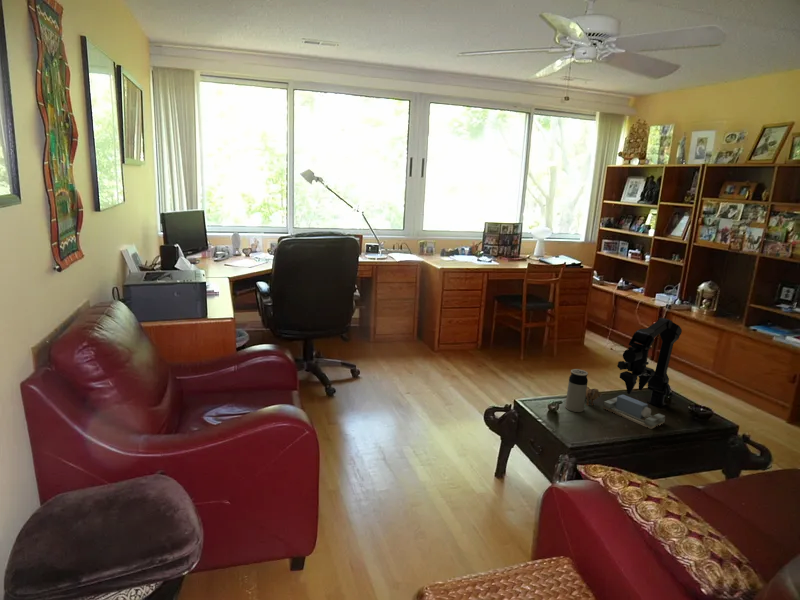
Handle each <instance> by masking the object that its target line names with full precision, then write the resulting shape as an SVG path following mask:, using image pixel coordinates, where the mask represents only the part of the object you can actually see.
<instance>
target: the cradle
mask: <svg viewBox="0 0 800 600" xmlns="http://www.w3.org/2000/svg"><path fill="white" fill-rule="evenodd" d="M616 402H617V396H616V397H613V398H611V399H608V400H604V401H603V406H602V409H603V410H605V409H606V411H607V410H608V412H610V413H612V412H613V414H614V413H615V415H617V416H619V417H621V416H622V418H624V419H626V420H629V421H631V422H634V423H636V424H638V425H640V426H643V427H645V428H647V427H648V429H649V430H652V429H655V428H656V426H657V427H659V426H661V424H662V425H664V424H665V420H666V415H664V414H661V413H657V414H654V415H652V414H650V416H649V417H648V418H646V417H643V418H641V419H640V418H637V417H635V416H632V415H630V414H628V413H625V412H623V411H620V410H618V409H616ZM663 423H664V424H663ZM658 425H659V426H658Z"/></svg>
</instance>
